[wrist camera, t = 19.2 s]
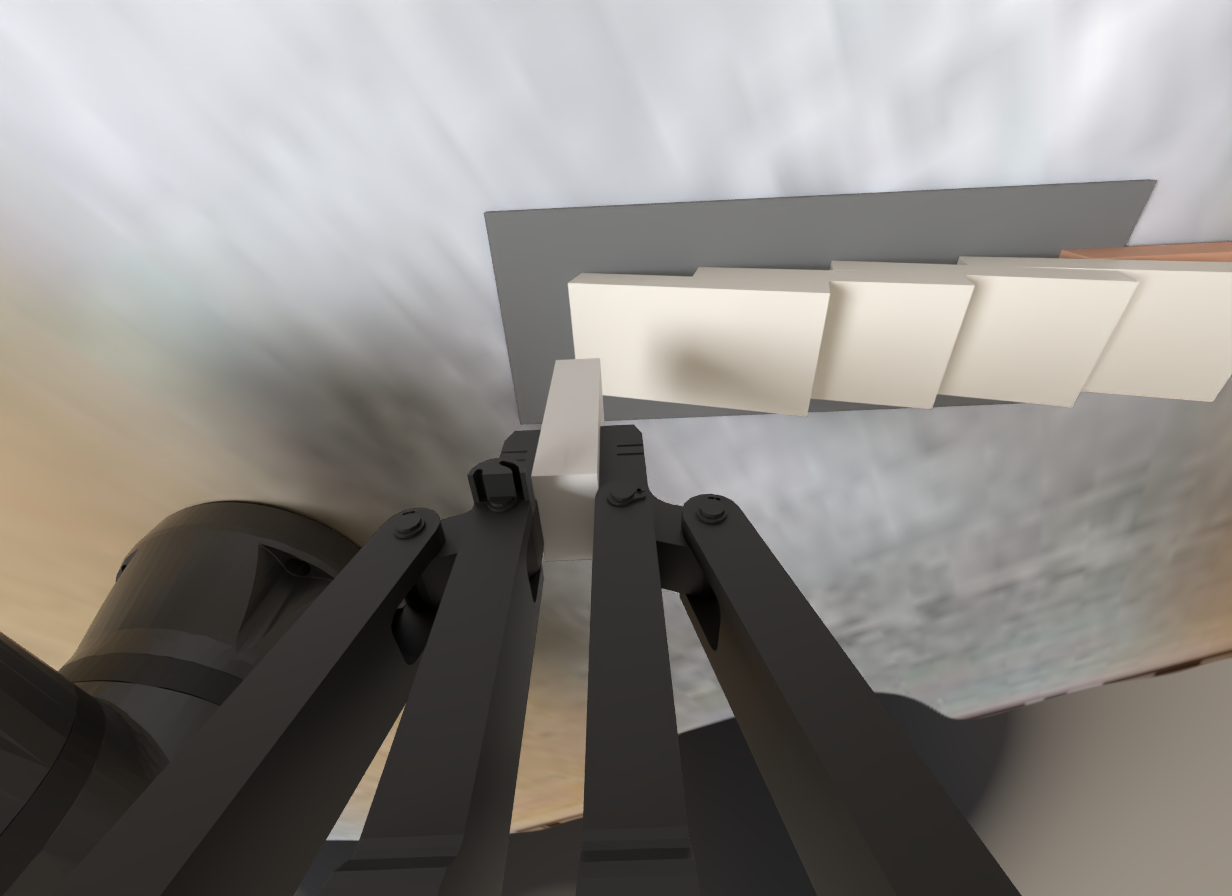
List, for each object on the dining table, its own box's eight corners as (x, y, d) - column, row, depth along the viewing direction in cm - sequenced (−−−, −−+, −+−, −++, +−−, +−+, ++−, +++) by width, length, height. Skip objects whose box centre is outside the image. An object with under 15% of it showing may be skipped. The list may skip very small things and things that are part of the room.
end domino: (1039, 372, 23) (1262, 362, 22) (1092, 258, 20) (1347, 246, 20) (1015, 358, 24) (1225, 349, 24) (1061, 250, 21) (1300, 238, 21)
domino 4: (930, 378, 23) (1212, 402, 20) (969, 265, 20) (1301, 274, 17) (924, 364, 24) (1188, 384, 21) (959, 256, 21) (1267, 262, 18)
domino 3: (810, 381, 23) (1071, 407, 20) (832, 269, 20) (1139, 281, 17) (810, 367, 24) (1056, 389, 21) (831, 260, 21) (1117, 270, 19)
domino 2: (688, 387, 23) (931, 409, 20) (692, 276, 20) (974, 285, 18) (693, 372, 24) (923, 391, 22) (698, 266, 21) (962, 273, 19)
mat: (521, 420, 26) (520, 424, 26) (485, 211, 21) (484, 213, 20) (1041, 398, 26) (1047, 402, 25) (1148, 179, 20) (1157, 180, 20)
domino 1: (578, 392, 23) (806, 416, 20) (567, 282, 20) (830, 293, 17) (590, 377, 24) (807, 398, 21) (581, 272, 22) (828, 281, 19)
